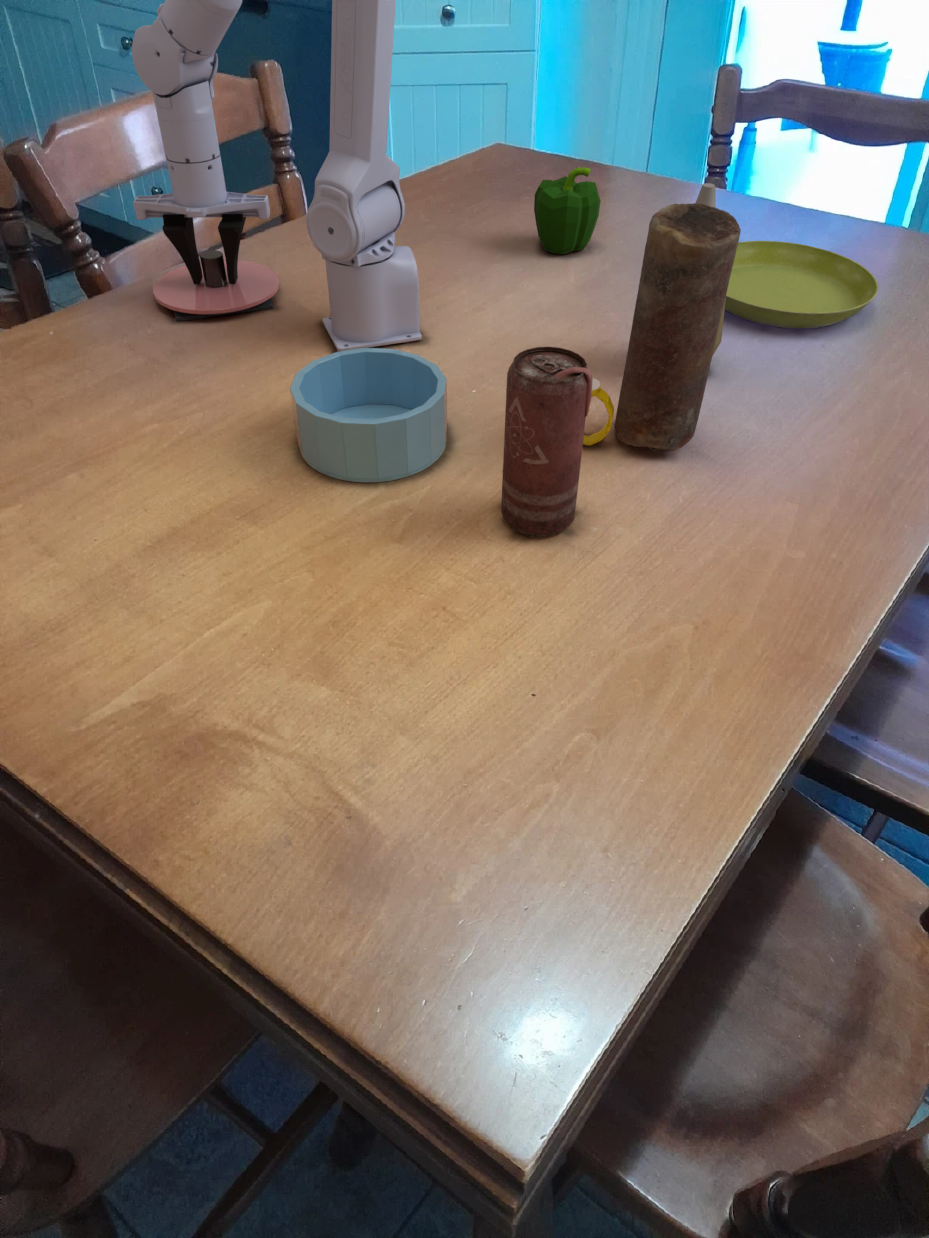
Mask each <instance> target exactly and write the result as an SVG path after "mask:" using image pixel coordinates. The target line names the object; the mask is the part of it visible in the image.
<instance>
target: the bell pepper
mask: <svg viewBox="0 0 929 1238" xmlns="http://www.w3.org/2000/svg"><path fill="white" fill-rule="evenodd" d="M591 171H592V169H591V168H588V167H586V166H581V167H576V168H574V169H572V170H570V171H569V172H568V175H564V176H562V177H559V178H557V179H555V180H553V179H542V180H541V182H540V184H539V185H538V187H537V188H536V191H535V193H534V201H533V202H534V203H533V204H534V205H533V212H534V219H535V225H536V230H537V236H538V238H539V241H540V243H541V245H542V247H543V249H544V251H547V252H549V253H551V254H558V255H565V254H568V253H572V252H574V251H583V250H585V248H586V246H587V245H588V244H589V242H590V241H591V239H592V236H593V234H594V231H595V228H596V225H597V222H598V219H599V215H600V207H601V202H602V201H601V196H600V194H599V190H598V185H597V183H596V182H595V181H587V180H586V181H580V182H577V181H575V180H576V178H577V177H578V176H584V177H585V178H588V177H589V175H590V173H591Z"/></svg>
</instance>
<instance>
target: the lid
mask: <svg viewBox="0 0 929 1238" xmlns="http://www.w3.org/2000/svg"><path fill="white" fill-rule="evenodd" d="M224 258H225V257H224V252H222V251H220V250H216V249H215V250H211V249H209V250H206V251H203V252H201V253H199V260H200V264H201V269H202V276H203V278H202V280H201V283H200V284H194V283H193V280H192V278H191V275H190V273H189V271H188V269H187V267H186V265H182V266H180V267H176V268H174V269H172V270H170V271H167V272H166V273H164V274H162V275H161V276H160V277H159V278H158V279H157V280H156V281H155V282H154V284H153V286H152V295H153V298H154V300H155V301H156V302H157V303H158V304H159V305H160V306H163V307H164V308H167V309H169V310H172V311H174V310H175V311H179V312H183V313H190V314H220V313H229V312H235V311H239V310H244V309H247V308H250V307H253V306H256V305H258V304H261V303H263V302H265V301H267V300H268V299H270V300H271V298H273V297H274V296H275V295H276V294H277V292H278V291H279V290H280V287H281V282H280V276H279V275H278V273H277V272H276V271H275V270H273V269H272V268H270V267H268V266H266V265H264V264H261V263H257V262H253V261H249V260H241V259H238V264H237V272H238V279H237V281H236V284H229V280H228V275H227V267H226V259H224Z"/></svg>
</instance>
